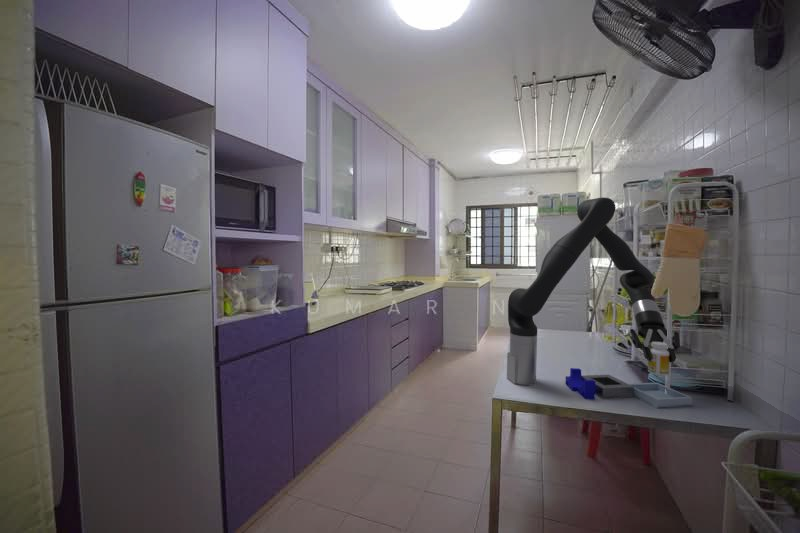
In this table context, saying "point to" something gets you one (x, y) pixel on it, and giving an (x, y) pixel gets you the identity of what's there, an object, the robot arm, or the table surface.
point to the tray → (660, 395)
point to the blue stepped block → (580, 384)
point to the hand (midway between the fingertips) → (661, 360)
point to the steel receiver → (610, 387)
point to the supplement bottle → (659, 359)
